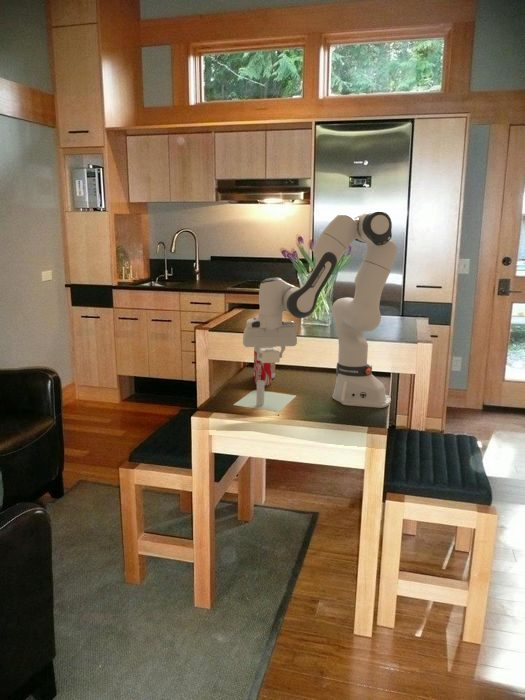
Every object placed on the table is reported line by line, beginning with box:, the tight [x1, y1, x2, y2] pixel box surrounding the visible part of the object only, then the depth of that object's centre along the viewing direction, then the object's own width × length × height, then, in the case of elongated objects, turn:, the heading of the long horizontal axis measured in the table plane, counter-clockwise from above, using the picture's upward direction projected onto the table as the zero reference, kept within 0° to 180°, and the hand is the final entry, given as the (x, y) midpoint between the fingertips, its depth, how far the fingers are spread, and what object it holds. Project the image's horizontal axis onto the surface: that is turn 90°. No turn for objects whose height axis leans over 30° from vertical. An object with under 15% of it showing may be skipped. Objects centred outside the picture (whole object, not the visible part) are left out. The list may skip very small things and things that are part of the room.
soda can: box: [254, 358, 273, 387], centre depth 229 cm, size 7×7×12 cm
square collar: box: [260, 347, 281, 364], centre depth 208 cm, size 6×6×4 cm
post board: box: [233, 380, 297, 417], centre depth 208 cm, size 18×20×10 cm
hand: (269, 357), depth 208 cm, fingers closed on square collar, 6 cm apart
